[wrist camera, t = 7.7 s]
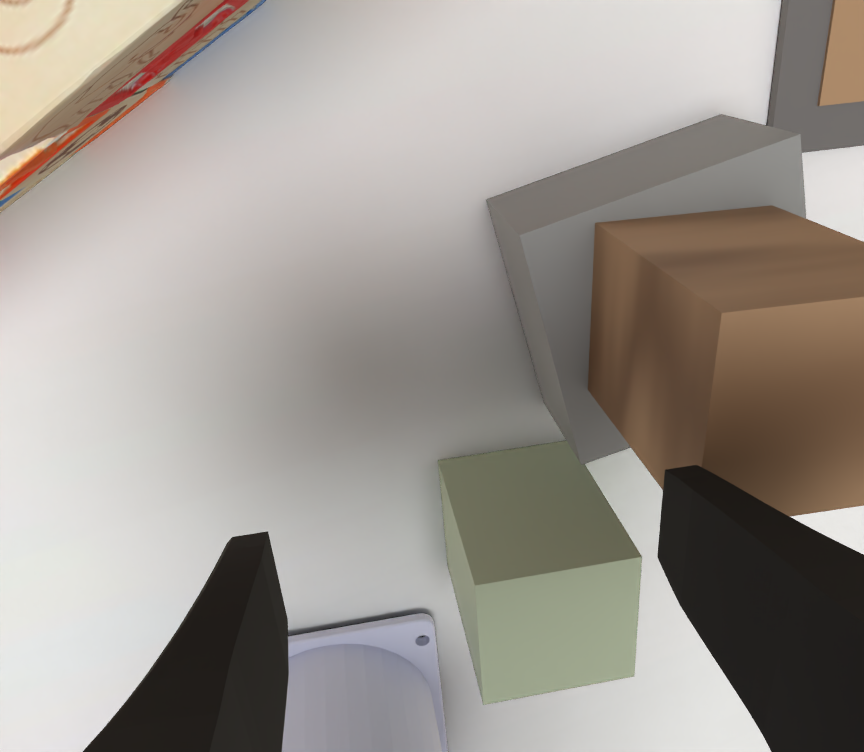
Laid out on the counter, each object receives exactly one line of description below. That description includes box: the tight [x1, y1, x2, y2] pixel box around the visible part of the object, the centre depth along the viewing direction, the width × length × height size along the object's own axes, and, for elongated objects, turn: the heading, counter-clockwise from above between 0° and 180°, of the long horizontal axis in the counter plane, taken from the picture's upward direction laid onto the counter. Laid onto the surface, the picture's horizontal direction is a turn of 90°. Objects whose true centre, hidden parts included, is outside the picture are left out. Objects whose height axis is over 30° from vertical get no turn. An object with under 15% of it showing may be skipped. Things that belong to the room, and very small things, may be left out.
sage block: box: [438, 441, 642, 705], centre depth 23 cm, size 4×4×6 cm
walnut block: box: [588, 205, 864, 516], centre depth 16 cm, size 4×4×6 cm
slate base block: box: [486, 114, 806, 465], centre depth 21 cm, size 7×7×4 cm
